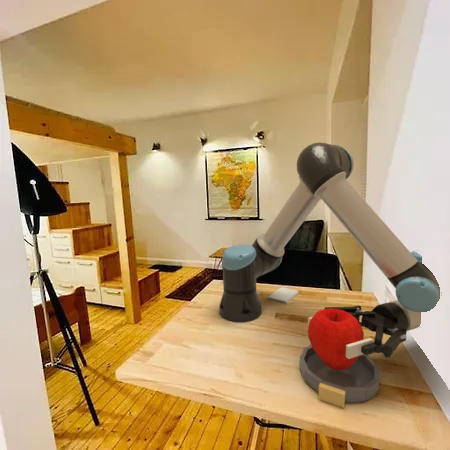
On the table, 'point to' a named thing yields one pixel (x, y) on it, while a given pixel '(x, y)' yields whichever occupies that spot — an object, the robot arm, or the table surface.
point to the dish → (340, 379)
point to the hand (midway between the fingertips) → (326, 336)
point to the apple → (334, 336)
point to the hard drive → (283, 295)
